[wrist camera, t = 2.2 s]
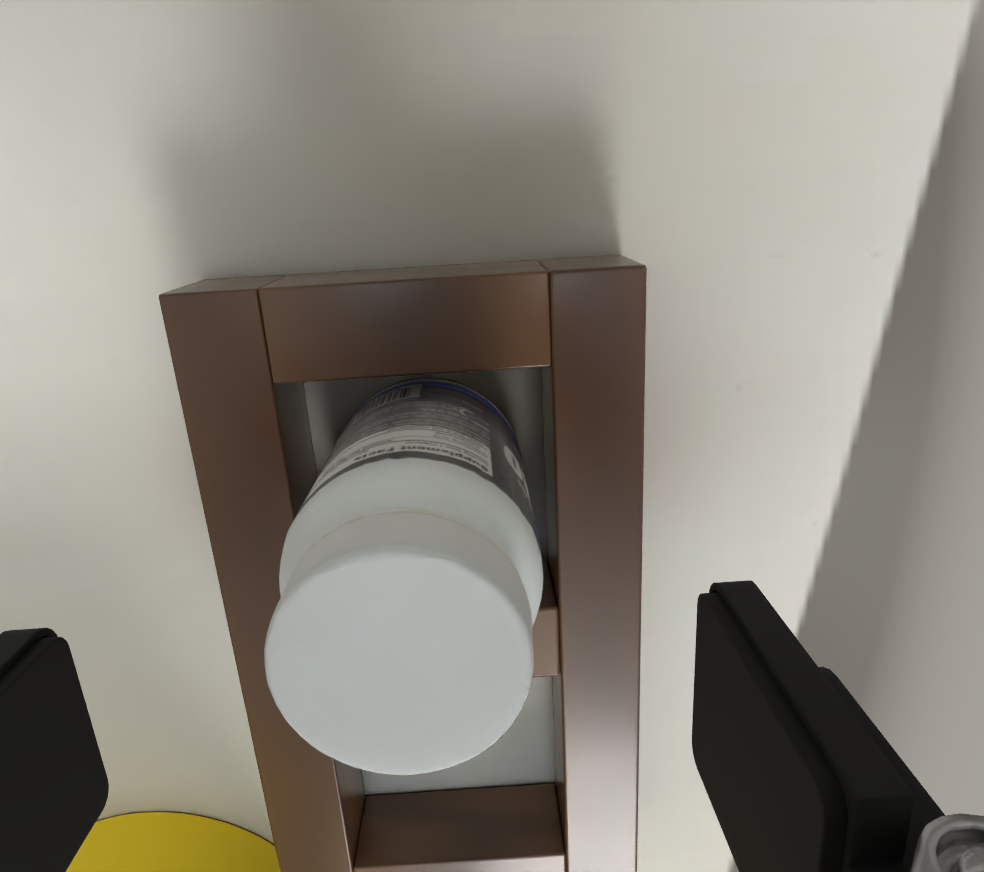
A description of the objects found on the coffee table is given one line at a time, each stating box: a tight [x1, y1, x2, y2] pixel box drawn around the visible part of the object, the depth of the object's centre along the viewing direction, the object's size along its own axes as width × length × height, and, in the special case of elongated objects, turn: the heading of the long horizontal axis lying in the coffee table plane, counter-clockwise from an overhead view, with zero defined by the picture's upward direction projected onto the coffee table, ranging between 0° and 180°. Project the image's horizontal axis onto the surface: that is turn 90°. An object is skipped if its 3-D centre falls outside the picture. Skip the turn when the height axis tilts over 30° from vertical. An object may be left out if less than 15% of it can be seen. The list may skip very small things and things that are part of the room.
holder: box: [159, 255, 647, 872], centre depth 18 cm, size 10×18×2 cm, turn 3°
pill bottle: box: [264, 379, 543, 775], centre depth 14 cm, size 5×5×8 cm
